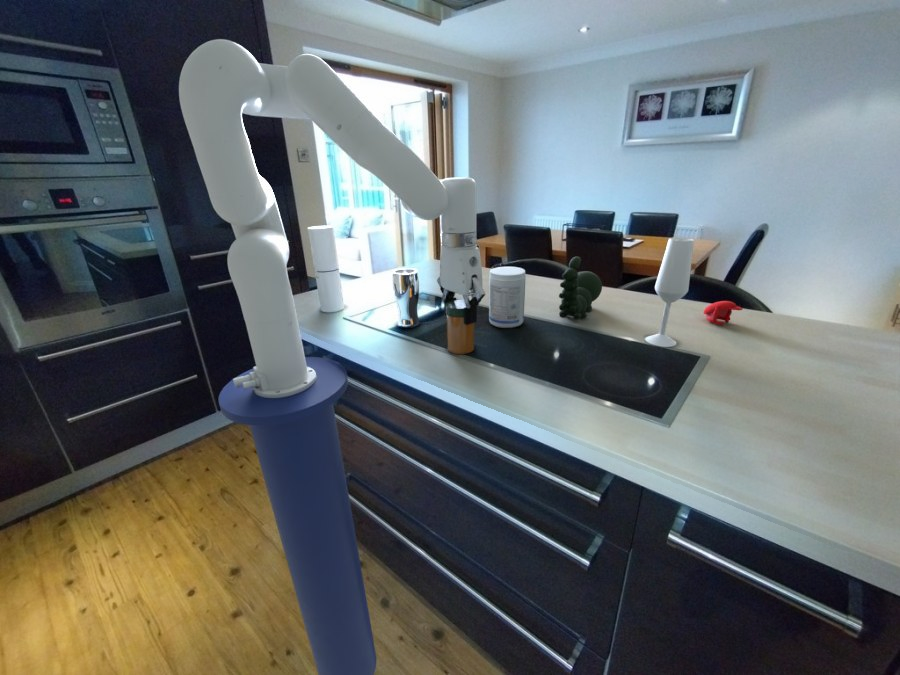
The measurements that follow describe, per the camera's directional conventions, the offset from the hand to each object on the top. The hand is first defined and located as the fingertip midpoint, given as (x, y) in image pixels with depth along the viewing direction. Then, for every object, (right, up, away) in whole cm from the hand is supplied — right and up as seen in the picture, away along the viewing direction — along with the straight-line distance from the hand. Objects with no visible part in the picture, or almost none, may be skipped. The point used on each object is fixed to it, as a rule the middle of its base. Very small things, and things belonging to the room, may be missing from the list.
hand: (460, 318), depth 89 cm
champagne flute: (+48, -5, +4) cm, 49 cm away
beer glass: (-14, -1, +19) cm, 23 cm away
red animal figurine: (+69, -1, +13) cm, 70 cm away
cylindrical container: (-40, +5, +33) cm, 52 cm away
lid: (0, +3, -1) cm, 3 cm away
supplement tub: (+13, -1, +18) cm, 22 cm away
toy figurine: (+35, +2, +23) cm, 42 cm away
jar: (0, -7, +3) cm, 8 cm away
